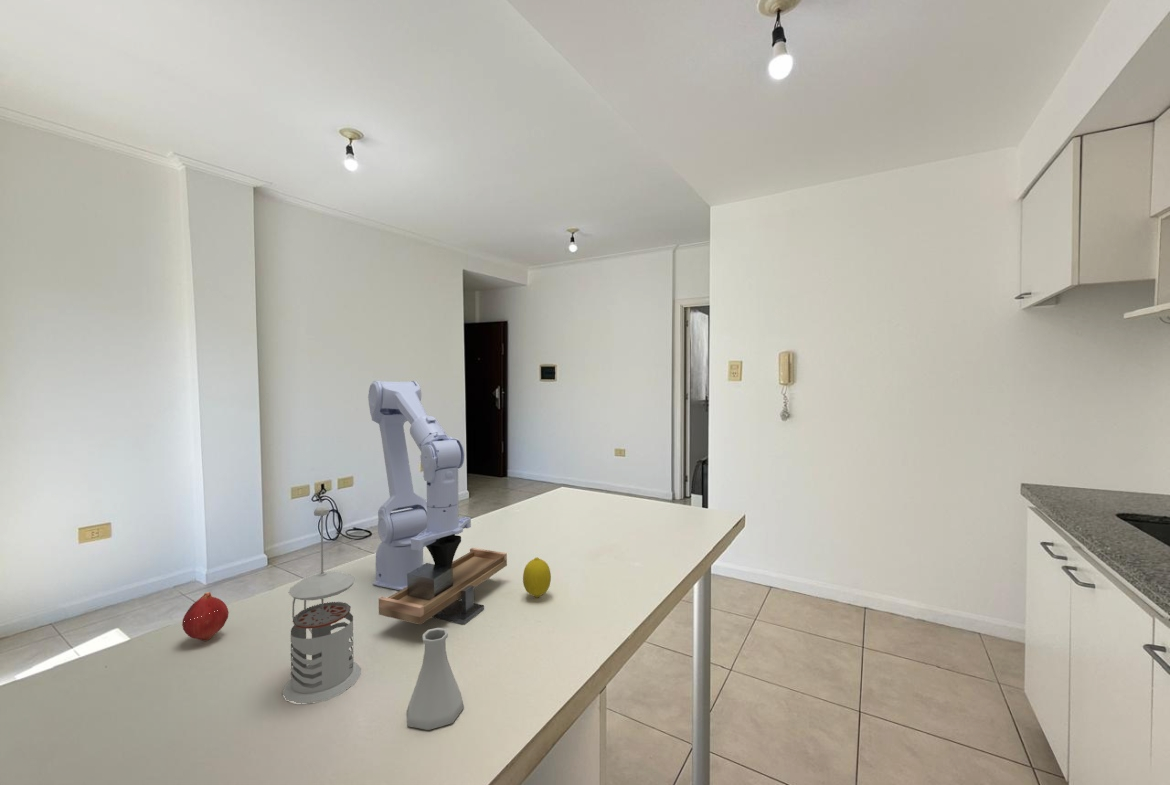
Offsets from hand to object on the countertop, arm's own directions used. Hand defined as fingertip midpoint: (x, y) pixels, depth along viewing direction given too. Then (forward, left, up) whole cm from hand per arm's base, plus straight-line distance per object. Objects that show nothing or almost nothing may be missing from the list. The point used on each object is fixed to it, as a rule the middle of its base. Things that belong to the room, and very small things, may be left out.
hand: (443, 576), depth 85 cm
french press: (-3, -23, -7) cm, 24 cm away
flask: (+17, -22, -7) cm, 29 cm away
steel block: (0, -3, -2) cm, 4 cm away
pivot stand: (0, 0, -6) cm, 6 cm away
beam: (0, +2, -3) cm, 4 cm away
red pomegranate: (-30, -23, -7) cm, 38 cm away
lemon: (+14, +11, -7) cm, 19 cm away
